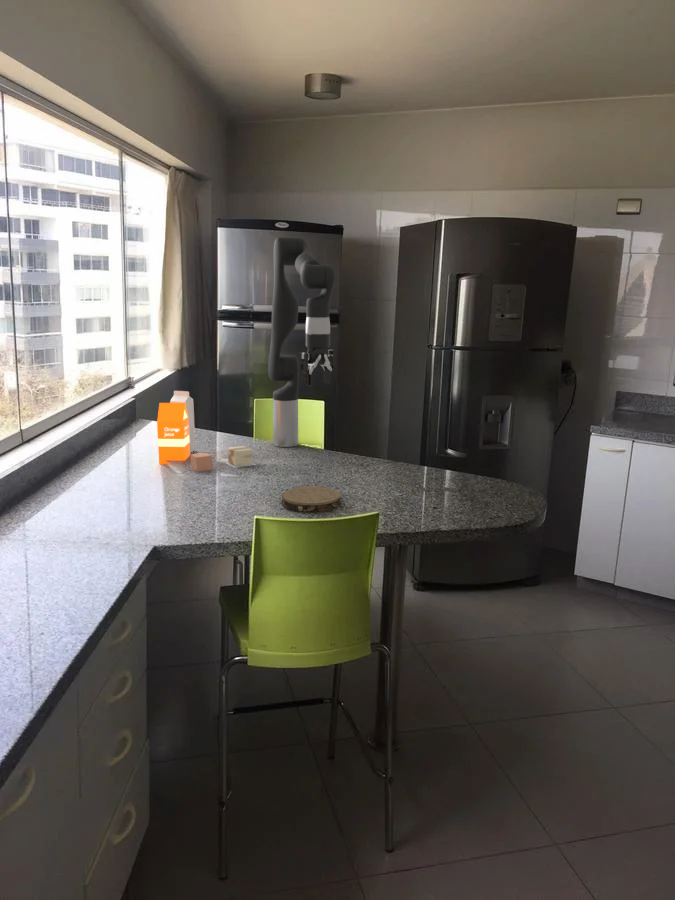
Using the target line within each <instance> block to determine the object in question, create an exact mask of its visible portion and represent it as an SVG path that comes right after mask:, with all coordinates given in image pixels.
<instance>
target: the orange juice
mask: <svg viewBox="0 0 675 900" xmlns="http://www.w3.org/2000/svg"><path fill="white" fill-rule="evenodd" d="M156 425H157V426H156V427H157V428H156V429H157V446H158V448H157V449H158V462H159V463H158V464H159V465H171V463H170V462H168V461H186V460H187V459H188V458H189V457H191V453H190V444H189V442H190V440H189V421H188V414H187V410H186V405H185V403H170V402H159V404H158V412H157V420H156Z"/></svg>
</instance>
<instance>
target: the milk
mask: <svg viewBox="0 0 675 900" xmlns="http://www.w3.org/2000/svg"><path fill="white" fill-rule="evenodd" d="M169 403H185V405H186V410H187V414H188V421H189V440H190V442H189V444H190V454H192V453H194V452H196V434H195V433H196V432H195V411H194V410H195V409H194V398H192V397H191V396H190V391H187V390H186V391H185V390H173V396H172V397H171V399H170V401H169ZM193 451H194V452H193ZM191 452H192V453H191Z"/></svg>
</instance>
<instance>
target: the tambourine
mask: <svg viewBox="0 0 675 900" xmlns="http://www.w3.org/2000/svg"><path fill="white" fill-rule="evenodd" d="M340 503H341V493H340V492H339V491H338V490H336V489H333V488H328V487H325V486H324V487H322V486H299V487H294V488H290V489H287V490H284V492H282V494H281V505H282V507H283V508H284V509H285V510H288V511H290V512H295V513H300V514H320V513H326V512H331V511H334V510H336V509H338V508H339V507H340V506H341V504H340Z"/></svg>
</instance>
